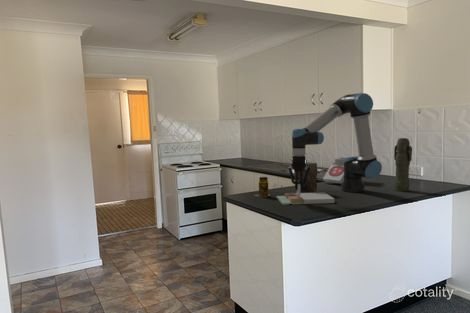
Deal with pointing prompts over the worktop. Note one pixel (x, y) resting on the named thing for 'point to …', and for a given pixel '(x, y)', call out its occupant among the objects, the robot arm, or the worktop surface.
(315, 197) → the pale grey square slab
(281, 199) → the mat
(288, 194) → the walnut coaster
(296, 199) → the terracotta tile
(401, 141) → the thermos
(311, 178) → the knife block
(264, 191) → the condiment
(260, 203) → the worktop surface
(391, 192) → the worktop surface
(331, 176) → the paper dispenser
